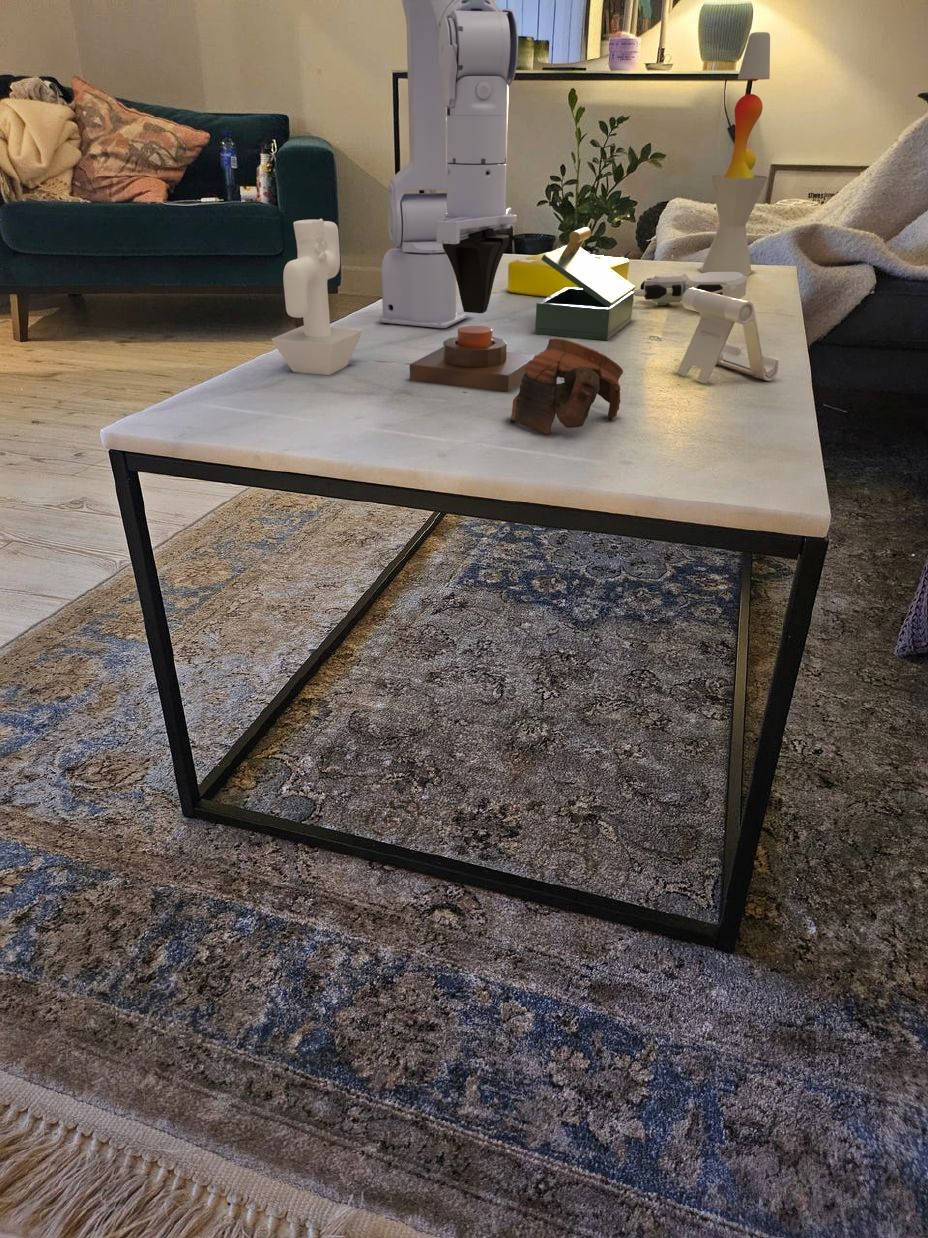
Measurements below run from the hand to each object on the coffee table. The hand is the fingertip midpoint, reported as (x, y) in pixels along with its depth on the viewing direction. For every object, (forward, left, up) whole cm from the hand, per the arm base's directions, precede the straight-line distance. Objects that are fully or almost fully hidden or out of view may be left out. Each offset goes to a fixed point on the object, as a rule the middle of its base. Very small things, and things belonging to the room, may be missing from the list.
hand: (475, 311), depth 90 cm
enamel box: (+4, +28, -7) cm, 29 cm away
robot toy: (+14, +48, -7) cm, 50 cm away
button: (0, 0, -4) cm, 4 cm away
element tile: (-6, +53, -7) cm, 54 cm away
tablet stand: (+24, +11, -7) cm, 27 cm away
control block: (0, 0, -7) cm, 7 cm away
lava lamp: (+14, +82, -7) cm, 83 cm away
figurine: (-17, -4, -7) cm, 18 cm away
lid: (+4, +28, 0) cm, 28 cm away
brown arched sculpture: (+14, -12, -7) cm, 20 cm away
